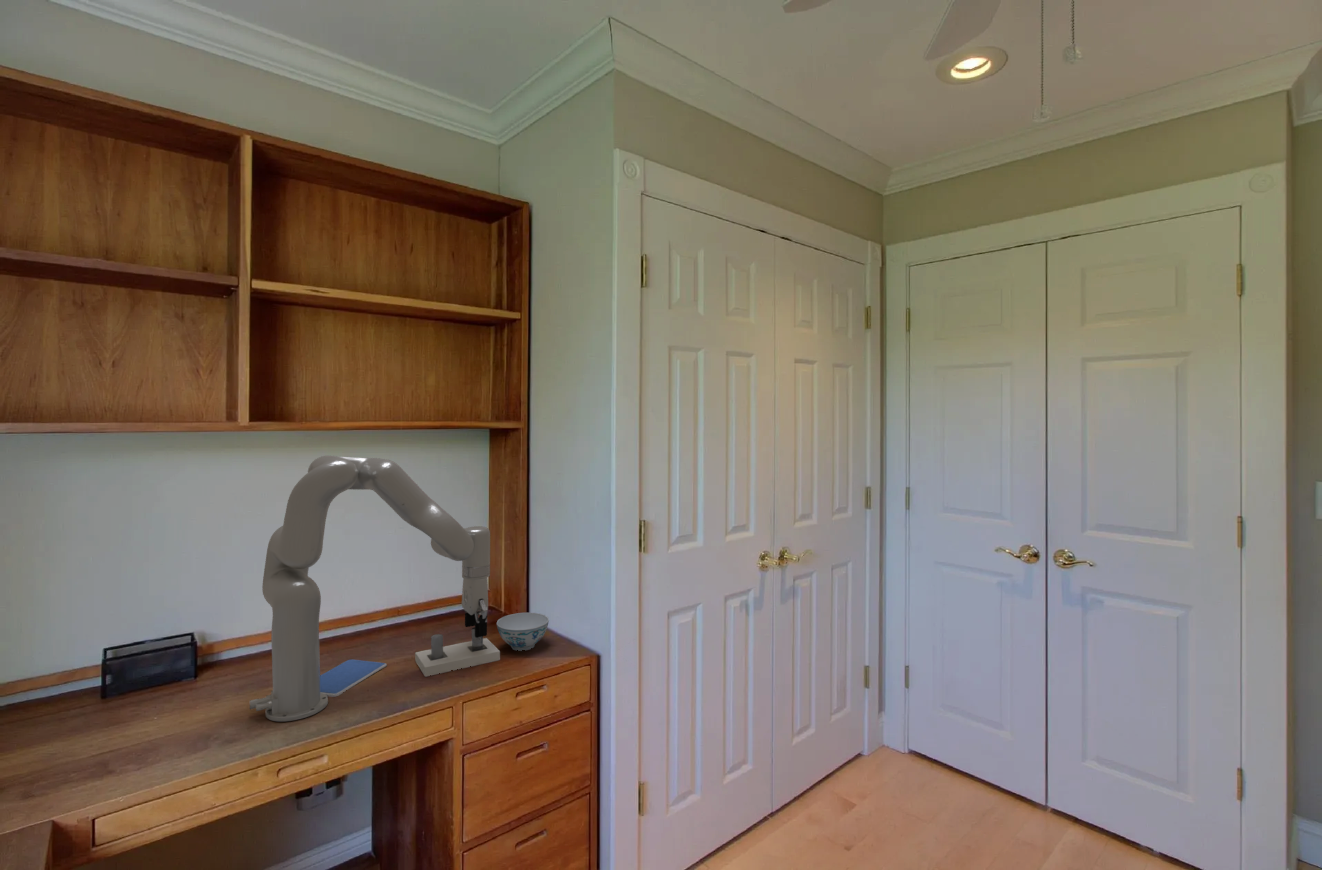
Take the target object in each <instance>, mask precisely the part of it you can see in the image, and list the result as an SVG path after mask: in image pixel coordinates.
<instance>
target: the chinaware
mask: <svg viewBox="0 0 1322 870" xmlns="http://www.w3.org/2000/svg"><path fill="white" fill-rule="evenodd" d="M496 621H497V622H496V627H497V631H498V634H499V636H500V638H501V639H502V640H503V642H505V643H506V644H508V645H509V646H510V647H511V649H512V650H514V651H517V650H518V652H519V651H520V652H523V651H522V650H525V651H529V650H532V649H533V648H535V646H536V645H535V644H537V643H538V642H539V641H541V640H542V638H543V637H544V636H545V634H546V632H547V629H548V626H549V621H550V620H549V617H548V616H547V615H545V614H543V613H537V612H518V613H517V612H516V613H513V614H508V615H504V616H502V617H501V618H499V619H498V620H496ZM531 648H532V649H531Z"/></svg>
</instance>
